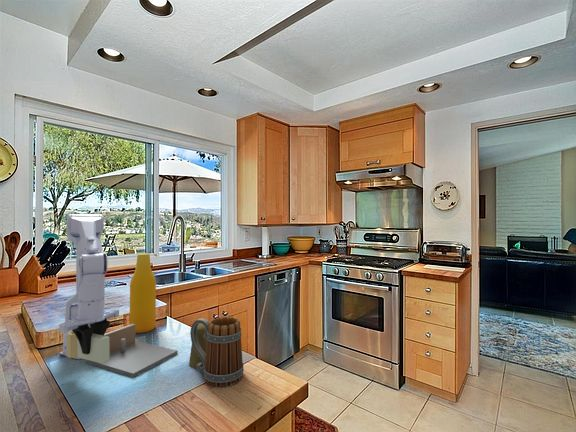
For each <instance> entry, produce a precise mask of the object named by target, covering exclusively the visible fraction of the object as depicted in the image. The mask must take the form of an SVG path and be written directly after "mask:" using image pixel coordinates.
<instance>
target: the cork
mask: <svg viewBox="0 0 576 432" xmlns="http://www.w3.org/2000/svg"><path fill="white" fill-rule="evenodd" d="M205 333H206V329H205V326H204V325H203V324H198V326H197V339H198V342H199V345H200V346H201V348H202V349H203V351H204V352H205V353H206V348H207V338H206V339H205V338H204V337H203V336H204V335H205ZM189 353H190V354H189V362H188V366H189V367H190V368H193V369H194V368H195V369H198V368H197V364H198V363H200V362H202V360H201V358H200V357H199V355H198V354H197V353H196V351H195V349H194V347H193V345H192V344H191V348H190V352H189Z"/></svg>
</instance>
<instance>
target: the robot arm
mask: <svg viewBox="0 0 576 432" xmlns="http://www.w3.org/2000/svg"><path fill="white" fill-rule="evenodd" d="M104 219H105V218H104V216H103V214H102V213H98V214H92V213H91V214H86V213H85V214H84V213H83V214H82V213H81V214H80V213H79V214H77V213H72V214H71V213H68V214H66V225H65V226H66V227H65V228H66V230H65V231H66V238H67V241H69V242H72V243H74V246H75V247H74V248H75V257H76V258H75V260H76V261H75V268H76V269H75V270H76V271H75V278H76V280H75V281H76V282H75V285H76V286H75V293H74V294H73V295H72V296H71V297H70V298H68V299H67V300H66V302H65V308H64V322H60V323H58V332H59V333H62V334H63V337H62V340H63V341H62V342H63V343H62V345H63V346H62V347H63V348H62V351H61V352H59V354H60V355H62V356H65V357H67V334H68V333H69V332H71V331H73V332H74V334H75V335H76V337H77V339H78V341H79V343H80V346H81V350H82V353H83V354H90V347H91V336H92V333H93V334H98V335H103V336H104V334H105V333H107V331H108V328H109V327H110V325H111V321H110V320H109V319H111V318H118V317H120V309H118V308H112V309H107V310H105V293H106V292H105V286H106V285H105V281H106V276H105V275H106V274H107V272H108V256H107V253H106V251H104V250H103V247H102V242H101V237H102V235H103V232H104V229H105V228H104V226H105V224H104V222H105V221H104ZM73 359H76V360H81V359H82V358H79V357H74V358H73Z"/></svg>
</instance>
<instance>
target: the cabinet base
mask: <svg viewBox="0 0 576 432" xmlns="http://www.w3.org/2000/svg"><path fill="white" fill-rule="evenodd" d="M135 326H136V324H130V325H129V324H128V325H125V326H122V327H120V328H119V327H118V328H117V329H113V330H111V331H108V332H107V331H106V332H105V334H104V336H108V337H109V361H107V362H105V363H102V364H101V363H98V362H94V361H90V360H86V359H85V363H86V364H89V365H92V366H95V367H99V368H101V369H106V370H108V371H112V372H115V373H118V374H121V375H125V376H128V377H130V378H135V377H137V376H139V375H140V374H143V373H144V372H146V371H148V370H150V369H152V368H153V366H154V367H155V366H158V365H159V364H161V363H163V362H164V361H167V360H168V359H171V358H172V357H174V356H176V355H178V350H177V349H172V348H169V347H164V346H160V345H155V344H152V343H151V344H150V343H147V342H143V341H138V340H136V333H135ZM151 367H152V368H151Z"/></svg>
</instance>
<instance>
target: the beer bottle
mask: <svg viewBox="0 0 576 432" xmlns="http://www.w3.org/2000/svg"><path fill="white" fill-rule="evenodd" d="M136 255H137V257H136V262H135V263H136V265H135V270H134V273H133V275H132V277H131V279H130V283H129V319H128V320H129V322H128V323H129V324H128V325H130V324H136V326H135V334H143V333H147V332H150V331H152V330H154V329H155V328H156V322H157V321H156V318H157V317H156V316H157V315H156V313H157V312H156V310H157V309H156V305H157V302H156V301H157V293H156V292H157V281H156V277H155V274H154V272H153V270H152V265H151V257H150V256H151V255H150V253H138V254H136Z"/></svg>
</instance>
